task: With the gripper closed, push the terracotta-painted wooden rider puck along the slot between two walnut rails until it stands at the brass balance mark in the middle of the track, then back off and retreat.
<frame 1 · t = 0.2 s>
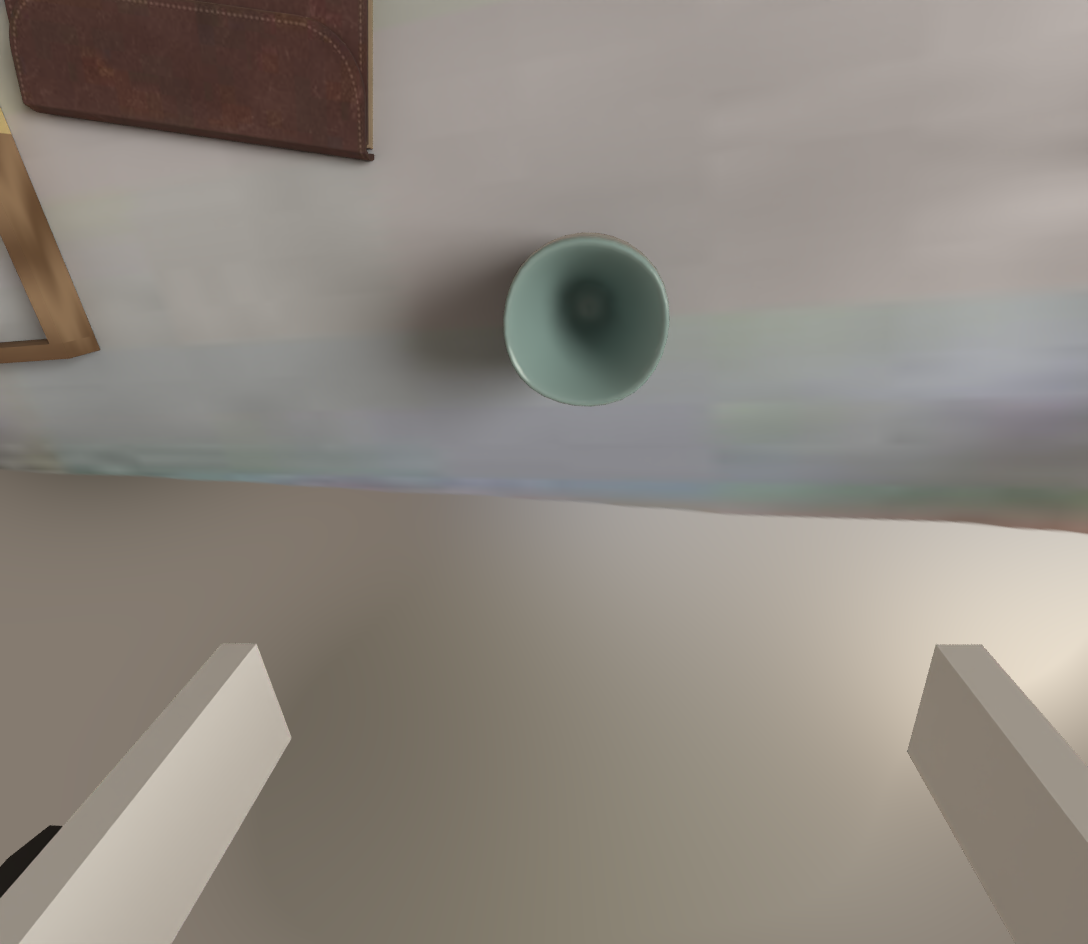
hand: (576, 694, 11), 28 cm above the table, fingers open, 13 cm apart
cup: (589, 296, 35), on the table
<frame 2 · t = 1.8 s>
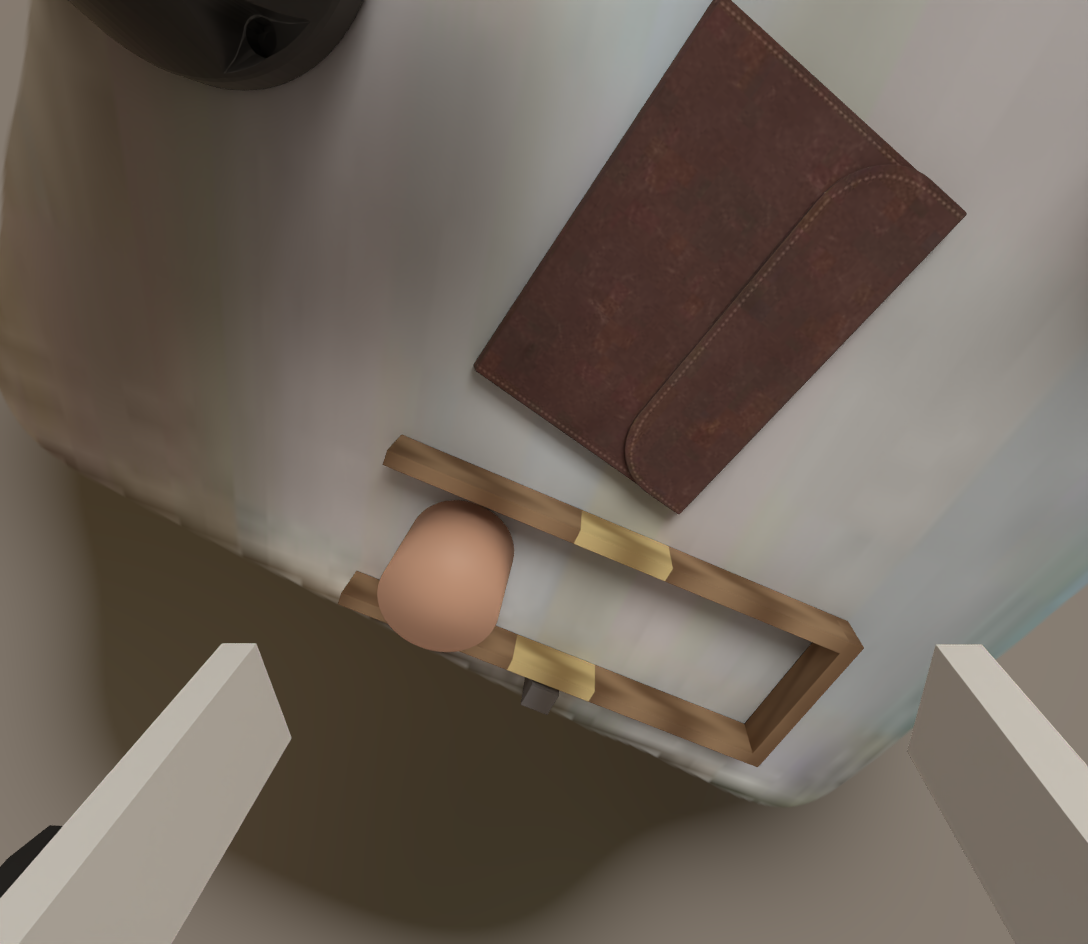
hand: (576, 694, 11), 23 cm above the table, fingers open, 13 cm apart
rider: (461, 547, 37), on the table
notebook: (692, 294, 30), on the table
track: (585, 598, 38), on the table
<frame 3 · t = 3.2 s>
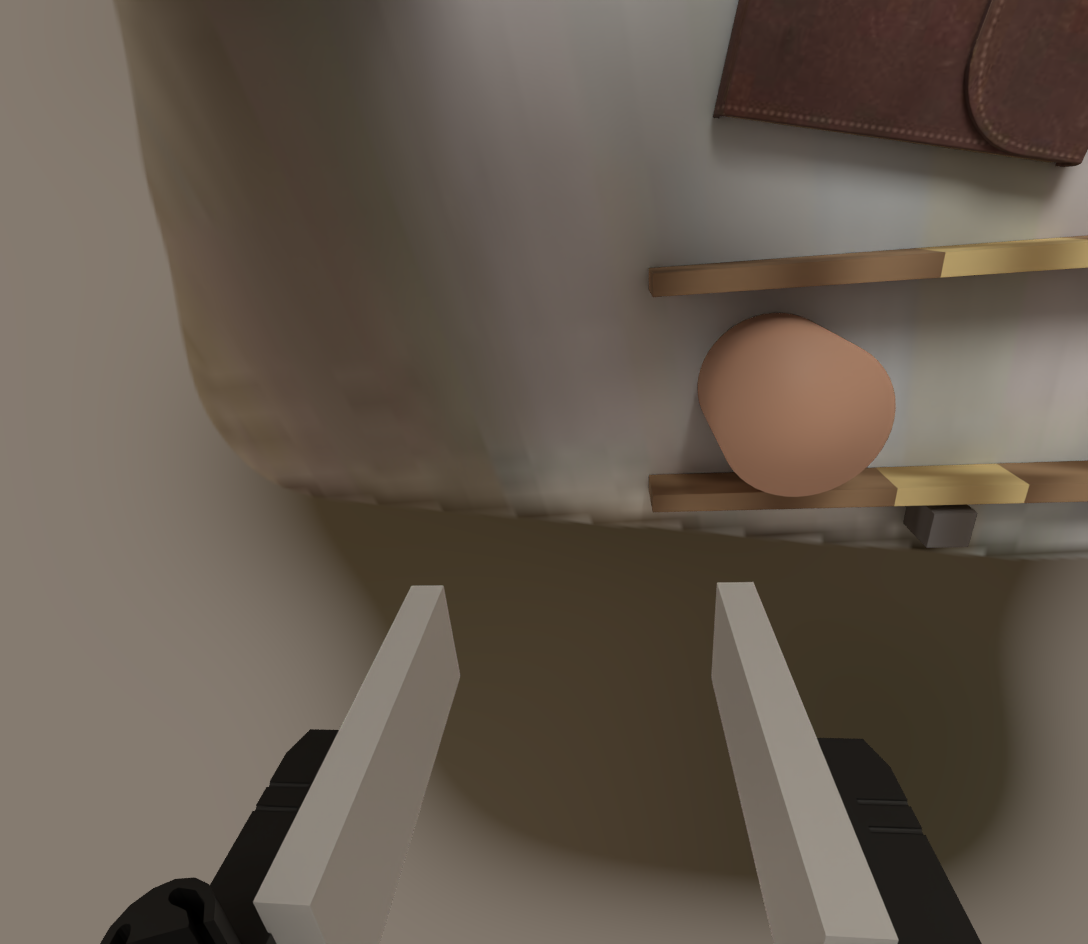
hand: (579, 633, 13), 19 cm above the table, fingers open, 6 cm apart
rider: (767, 382, 29), on the table
track: (956, 373, 28), on the table
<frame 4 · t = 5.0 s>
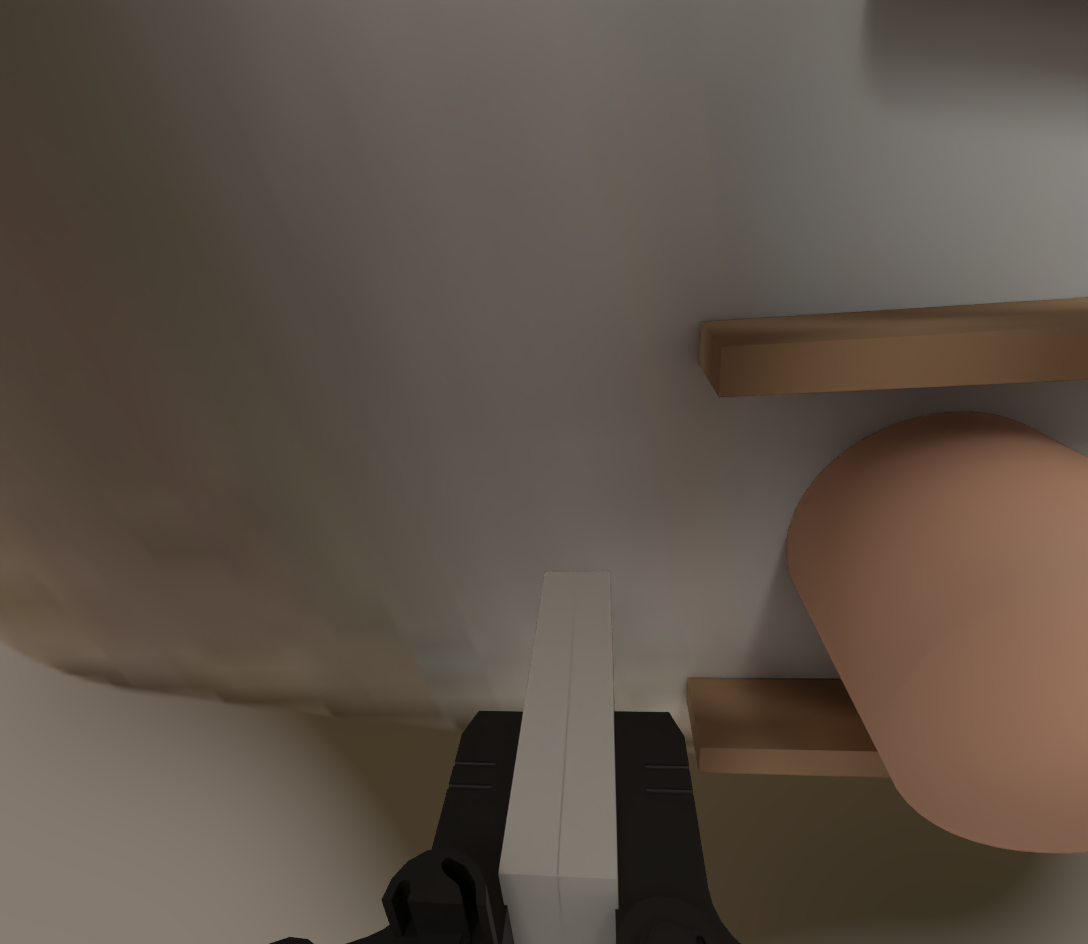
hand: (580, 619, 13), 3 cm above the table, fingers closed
rider: (924, 536, 15), on the table
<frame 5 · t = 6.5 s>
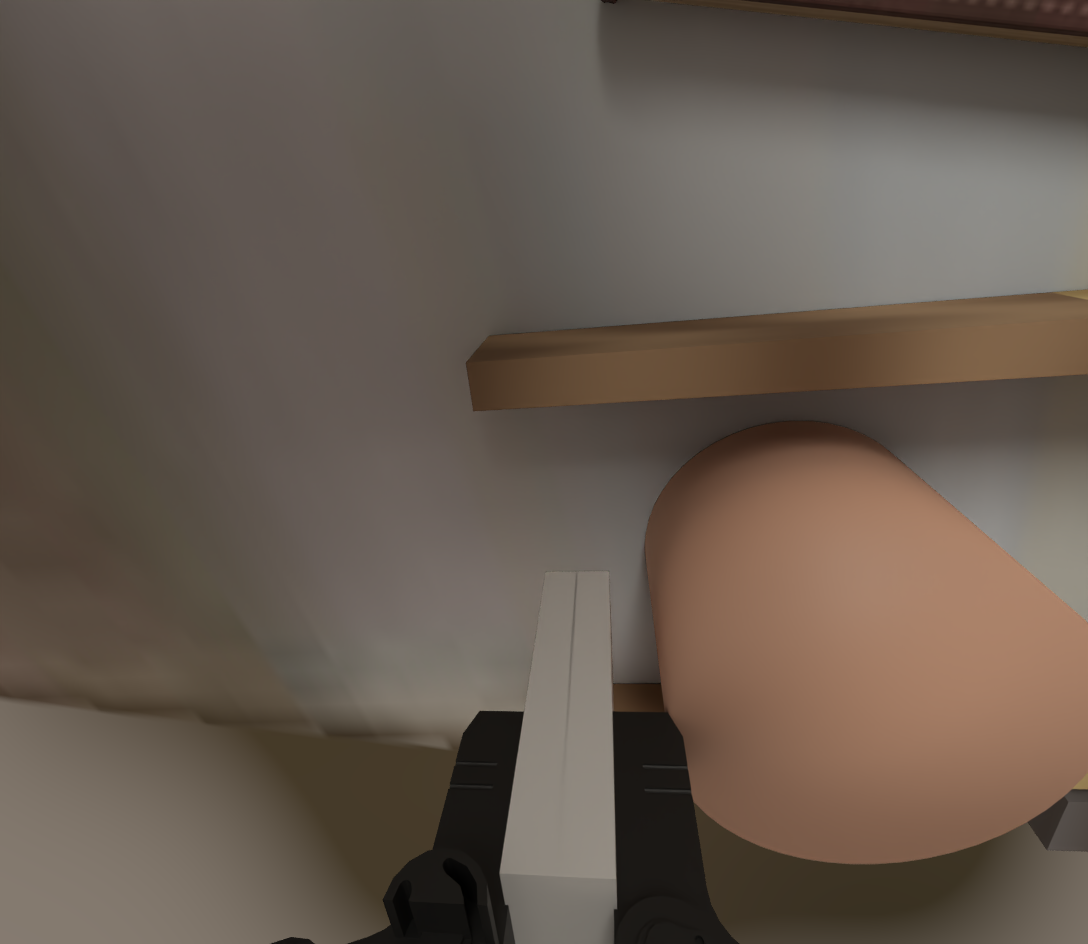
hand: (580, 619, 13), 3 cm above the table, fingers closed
rider: (778, 545, 15), on the table, touching gripper
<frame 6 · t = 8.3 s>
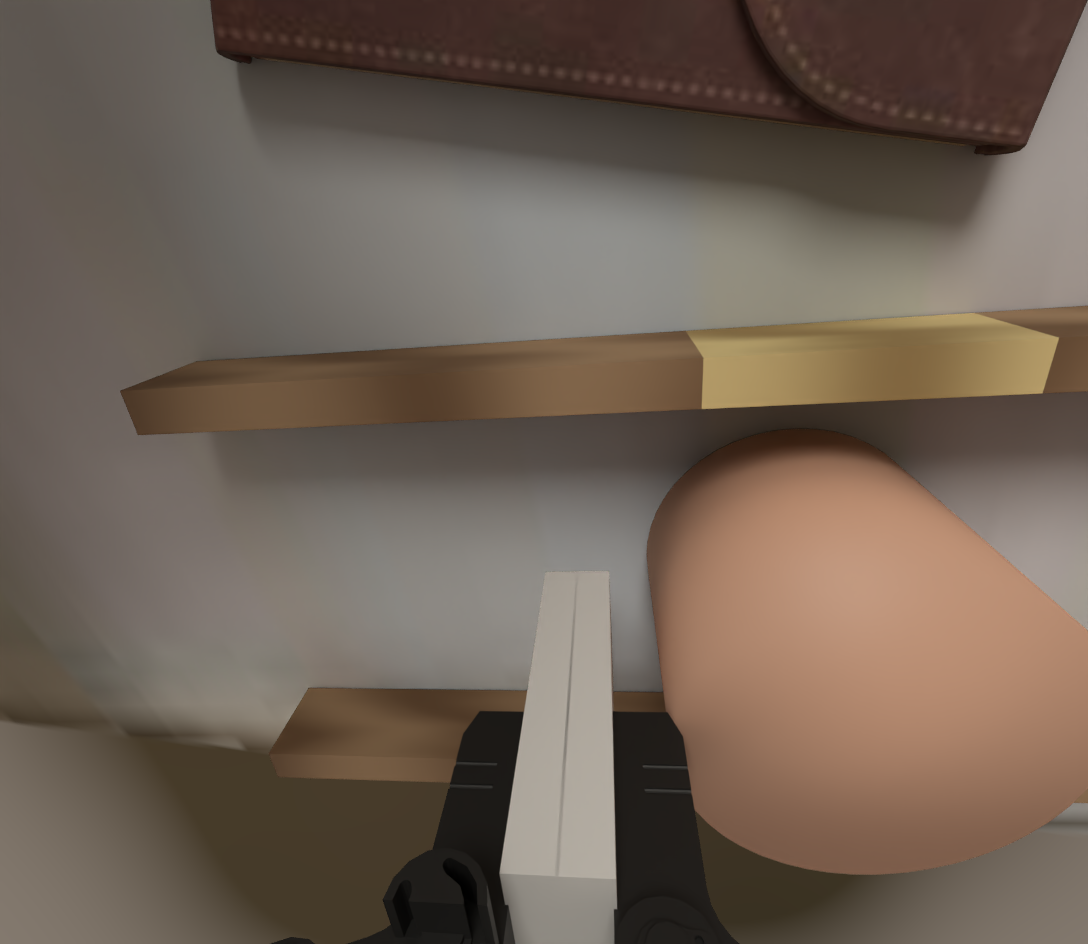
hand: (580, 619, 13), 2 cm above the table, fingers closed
rider: (780, 552, 15), on the table, touching gripper
track: (796, 553, 15), on the table
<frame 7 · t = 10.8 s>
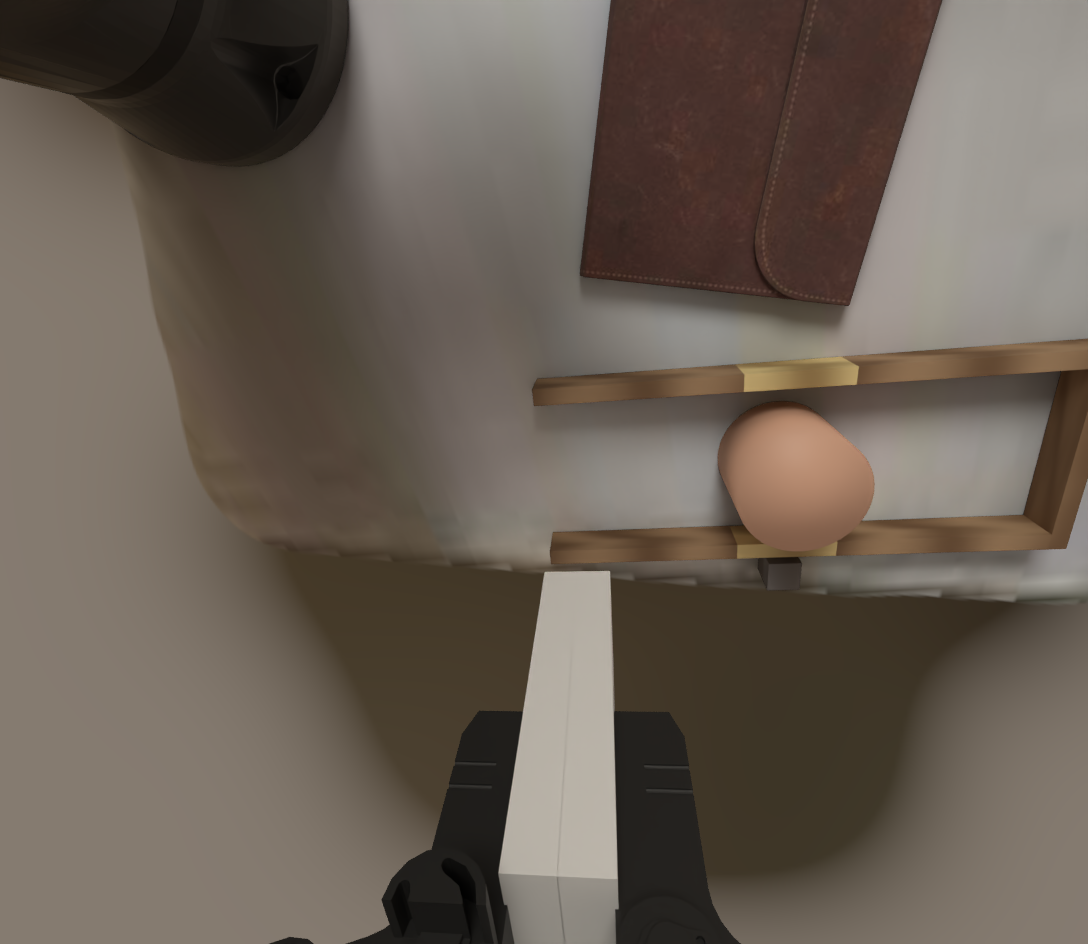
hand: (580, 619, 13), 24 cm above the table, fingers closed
rider: (774, 454, 36), on the table
notebook: (749, 86, 29), on the table
track: (780, 454, 36), on the table
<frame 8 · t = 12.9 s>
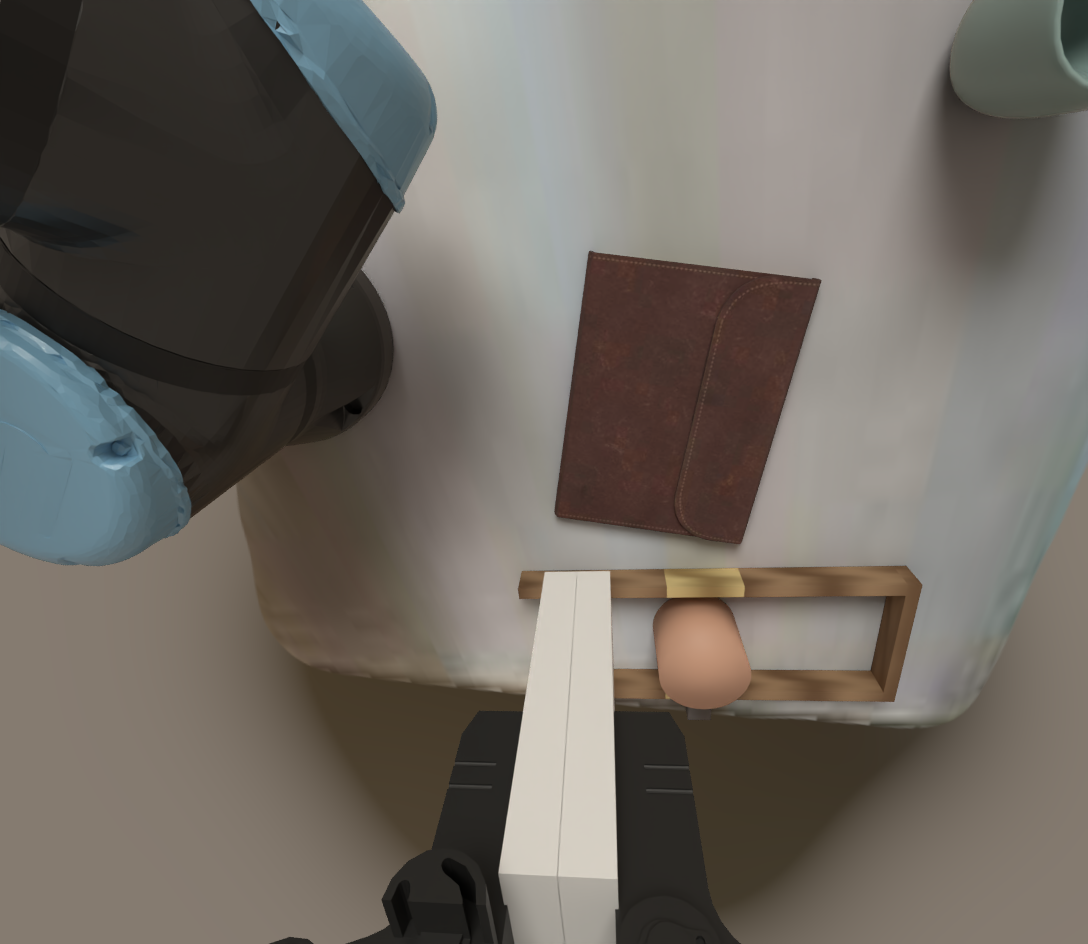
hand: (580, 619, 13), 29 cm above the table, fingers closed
rider: (693, 625, 50), on the table
notebook: (670, 403, 42), on the table
cup: (1000, 48, 31), on the table
track: (698, 626, 49), on the table
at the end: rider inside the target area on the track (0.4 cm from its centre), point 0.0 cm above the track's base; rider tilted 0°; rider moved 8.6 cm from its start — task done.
